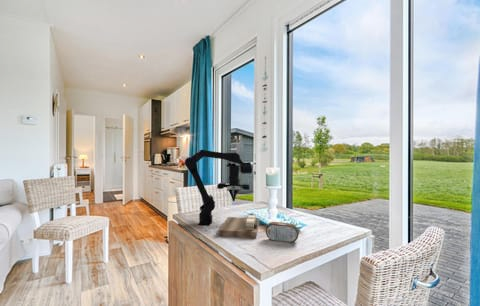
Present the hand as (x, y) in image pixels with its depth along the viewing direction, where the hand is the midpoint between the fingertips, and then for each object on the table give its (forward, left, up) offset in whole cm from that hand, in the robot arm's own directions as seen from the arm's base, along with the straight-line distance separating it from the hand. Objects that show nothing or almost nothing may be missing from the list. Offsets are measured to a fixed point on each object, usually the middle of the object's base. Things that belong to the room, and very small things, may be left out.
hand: (233, 200), depth 137 cm
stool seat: (+6, -13, -12) cm, 19 cm away
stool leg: (+12, -14, -9) cm, 20 cm away
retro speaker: (+27, -25, -12) cm, 39 cm away
